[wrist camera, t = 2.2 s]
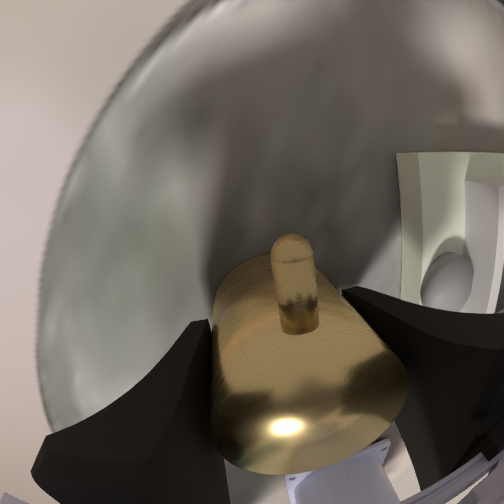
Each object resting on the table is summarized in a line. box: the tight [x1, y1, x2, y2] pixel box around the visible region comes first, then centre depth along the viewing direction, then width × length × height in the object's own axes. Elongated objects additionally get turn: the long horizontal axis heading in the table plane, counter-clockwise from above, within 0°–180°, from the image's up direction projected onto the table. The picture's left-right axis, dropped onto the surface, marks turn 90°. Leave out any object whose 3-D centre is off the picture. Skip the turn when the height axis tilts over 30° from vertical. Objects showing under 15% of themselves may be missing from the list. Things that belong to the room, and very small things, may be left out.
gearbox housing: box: [396, 152, 504, 314], centre depth 10 cm, size 11×12×4 cm
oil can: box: [211, 234, 409, 475], centre depth 8 cm, size 7×5×6 cm
